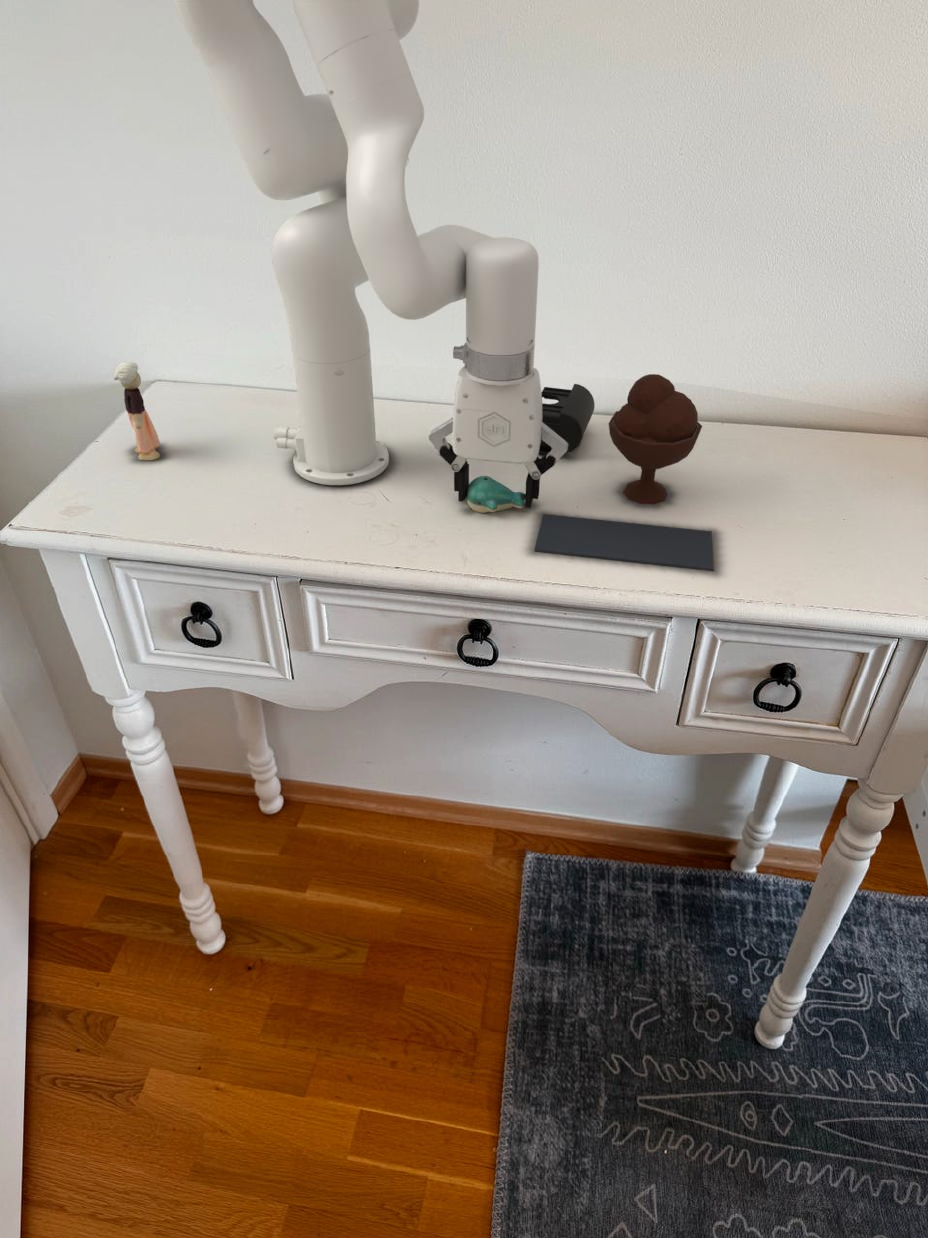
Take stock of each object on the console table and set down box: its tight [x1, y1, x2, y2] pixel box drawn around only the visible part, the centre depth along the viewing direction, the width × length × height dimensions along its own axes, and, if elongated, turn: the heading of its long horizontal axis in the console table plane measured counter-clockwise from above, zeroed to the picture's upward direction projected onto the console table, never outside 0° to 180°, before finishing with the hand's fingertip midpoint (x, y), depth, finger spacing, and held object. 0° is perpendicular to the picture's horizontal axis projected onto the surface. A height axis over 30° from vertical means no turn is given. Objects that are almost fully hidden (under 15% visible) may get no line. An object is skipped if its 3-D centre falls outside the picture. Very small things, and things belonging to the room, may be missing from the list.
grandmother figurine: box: [112, 361, 161, 461], centre depth 117 cm, size 8×4×13 cm, turn 35°
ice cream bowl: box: [608, 373, 703, 505], centre depth 107 cm, size 11×11×15 cm
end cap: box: [538, 383, 595, 458], centre depth 121 cm, size 10×7×7 cm
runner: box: [533, 513, 714, 572], centre depth 103 cm, size 20×8×1 cm, turn 79°
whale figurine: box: [465, 475, 525, 514], centre depth 108 cm, size 6×7×4 cm
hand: (496, 498), depth 109 cm, fingers closed on whale figurine, 7 cm apart
